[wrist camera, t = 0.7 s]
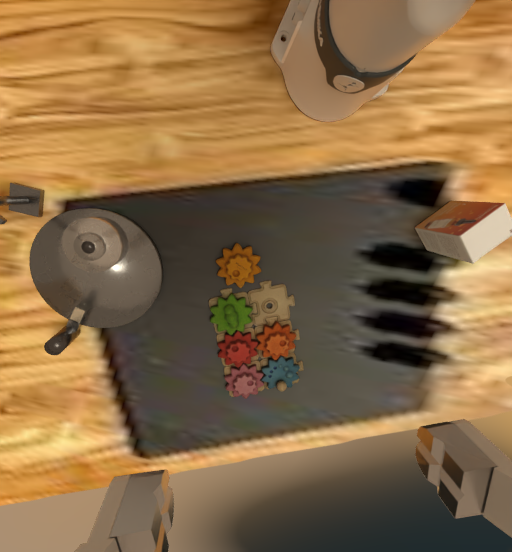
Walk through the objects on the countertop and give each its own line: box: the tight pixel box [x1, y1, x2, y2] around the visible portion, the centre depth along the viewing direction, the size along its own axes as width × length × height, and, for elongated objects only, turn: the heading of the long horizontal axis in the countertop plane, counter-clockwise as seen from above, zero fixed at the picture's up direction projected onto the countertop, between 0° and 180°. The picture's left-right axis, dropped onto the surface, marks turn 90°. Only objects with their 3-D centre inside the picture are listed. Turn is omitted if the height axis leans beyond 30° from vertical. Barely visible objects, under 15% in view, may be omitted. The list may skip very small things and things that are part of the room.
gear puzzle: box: [209, 243, 303, 399], centre depth 51 cm, size 31×16×4 cm, turn 9°
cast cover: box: [62, 216, 128, 272], centre depth 42 cm, size 8×8×5 cm
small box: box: [415, 201, 512, 263], centre depth 46 cm, size 8×6×10 cm
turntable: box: [30, 208, 163, 355], centre depth 44 cm, size 23×20×6 cm
